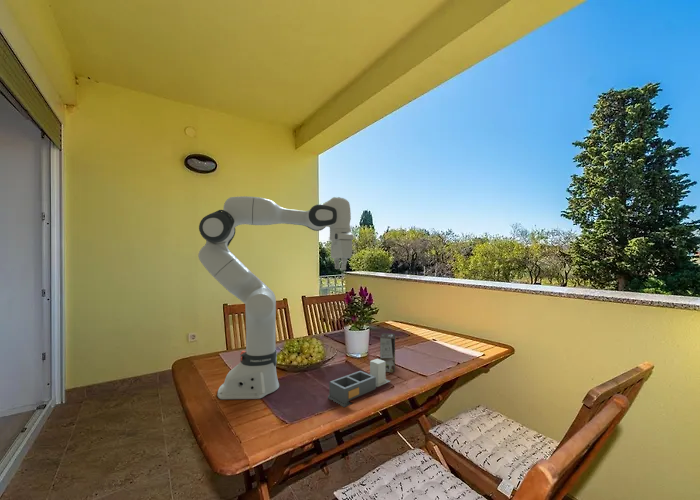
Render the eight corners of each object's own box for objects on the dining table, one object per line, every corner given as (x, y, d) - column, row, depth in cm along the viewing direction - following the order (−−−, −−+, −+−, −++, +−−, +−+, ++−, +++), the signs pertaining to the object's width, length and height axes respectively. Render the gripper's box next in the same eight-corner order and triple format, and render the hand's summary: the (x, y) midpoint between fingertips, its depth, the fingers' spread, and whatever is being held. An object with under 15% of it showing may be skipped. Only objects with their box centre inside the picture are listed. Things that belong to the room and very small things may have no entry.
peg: (378, 384, 117) (378, 363, 117) (370, 380, 120) (370, 361, 121) (385, 381, 120) (385, 361, 120) (377, 378, 123) (377, 358, 123)
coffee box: (394, 375, 129) (394, 338, 130) (379, 374, 131) (379, 337, 131) (395, 368, 138) (395, 333, 139) (381, 367, 140) (381, 332, 140)
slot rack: (344, 407, 102) (344, 389, 102) (328, 398, 109) (328, 381, 109) (392, 385, 120) (392, 370, 120) (376, 378, 126) (376, 364, 126)
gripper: (327, 237, 134) (327, 268, 134) (339, 234, 115) (339, 270, 114) (340, 238, 136) (340, 268, 136) (354, 234, 116) (354, 270, 116)
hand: (340, 269), depth 125 cm, fingers open, 8 cm apart
